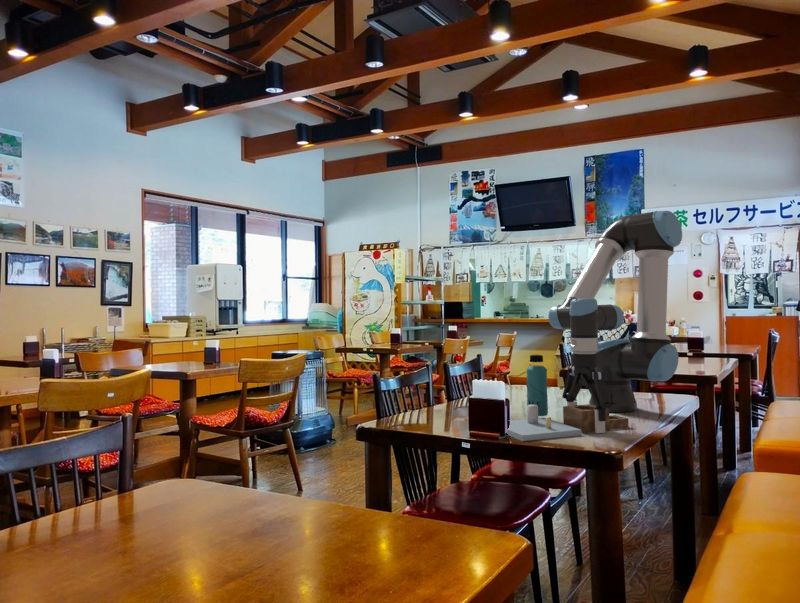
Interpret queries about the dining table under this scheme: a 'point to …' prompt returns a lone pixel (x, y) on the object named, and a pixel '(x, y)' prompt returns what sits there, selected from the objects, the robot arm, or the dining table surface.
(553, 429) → the post board
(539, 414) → the beverage bottle
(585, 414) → the stepped wooden block
